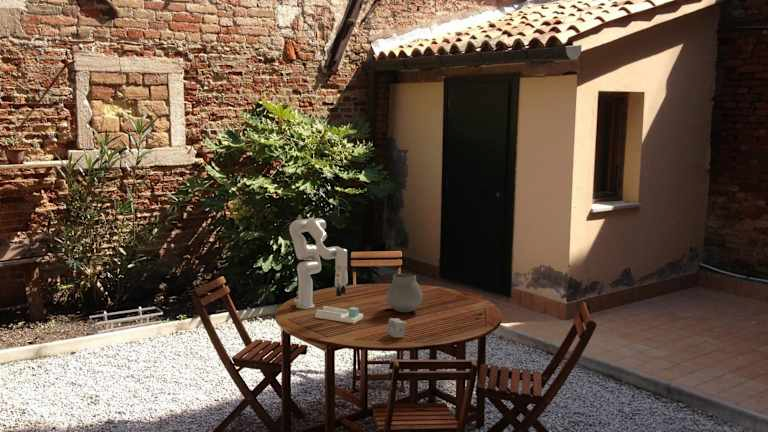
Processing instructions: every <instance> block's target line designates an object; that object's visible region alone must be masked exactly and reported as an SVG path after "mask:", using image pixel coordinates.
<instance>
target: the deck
mask: <svg viewBox="0 0 768 432" xmlns="http://www.w3.org/2000/svg"><path fill="white" fill-rule="evenodd" d="M322 307H323V308H322V309H316V313H314V318H317V319H322V320H329V321H330V320H331V321H335V322H336V321H337V322H343V323H349V324H356V323H357V322H359V321H360V320H362V319H363V318H364V313H360V312H359V316H357V317H349V316H348V313H349V309H345V308H341V307H340V308H339V307H331V306H326V305H325V306H324V305H323V306H322Z"/></svg>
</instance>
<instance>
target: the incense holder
mask: <svg viewBox="0 0 768 432" xmlns="http://www.w3.org/2000/svg"><path fill="white" fill-rule="evenodd" d="M407 325H408V324H407V322H406V321H403V320H402V319H400V318H392V317H389V319H388V323H387V330H386V334H387V335H389V336H390V338H395V339H397V338H400V339H405V338H406V335H405V328H406V327H407Z"/></svg>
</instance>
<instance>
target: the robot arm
mask: <svg viewBox="0 0 768 432" xmlns="http://www.w3.org/2000/svg"><path fill="white" fill-rule="evenodd" d="M326 228H327V223H326V220H324V218H303V219H297V220H296V219H295V220H294V221H292V222H291V223H290V225H289V228H288V229H289V230H288V231H289V233H290V236H291V239H292V242H293V247H294V251H295V255H296V258H297V259H298V260H300V262H299V263H298V264H297V266H296V271H297V276H298V299H297V298H294V299H293V303H296V305H295V306H296V308H297V309H301V310H302V309H303V310H309V309H313V308H315V307H316V306H315V303H313V297H314V296H313V293H314V291H313V288H314V286H313V279H312V276H311V275H313V274H318V273H320V272H321V271H322V263H321V262H322V261H321V258H320V257H322V259H324V260H331V259H334V260H335V264H334V265H335V267H334V271H335V276H334V288H335V291H336V293H335V294H336V295H335V296H337V297H342V295H346V289H347V288H346V287H347V286H346V285H347V284H348V282H349V278H348V277H349V276H348V249H346V248H342V247H340V246H338V245H337V246H330V247H326V246H325V245H324V243H323V242H325V240H326V239H327V238H328V235H327V232H326V231H325V230H326ZM303 232H308V233H309V234H310V235H311V237H312V238H313V239H314V240H315V244H312V243H311V244H310V243H309V244H307V239H306V237H305V236H304V235H303V234H302V233H303ZM301 260H304V261H301Z"/></svg>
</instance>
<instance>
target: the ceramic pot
mask: <svg viewBox="0 0 768 432" xmlns="http://www.w3.org/2000/svg"><path fill="white" fill-rule="evenodd" d="M392 277H393V278H392V282H391V283H390V284H389V286H388V288H387V291H386V293H385V295H386V301H387V303H388V304H389V306H390V307H391V308H392V309H393V310H395V311H396V312H400V313H411V312H413V311H414V310H416V309H417V308H418V307H419V306H420V305H421V303H422V302H423V293H422V288H421V286H420V285H419V283H418V282H417V276H416V275H415V274H408V273H395V274H393V276H392Z"/></svg>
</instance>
